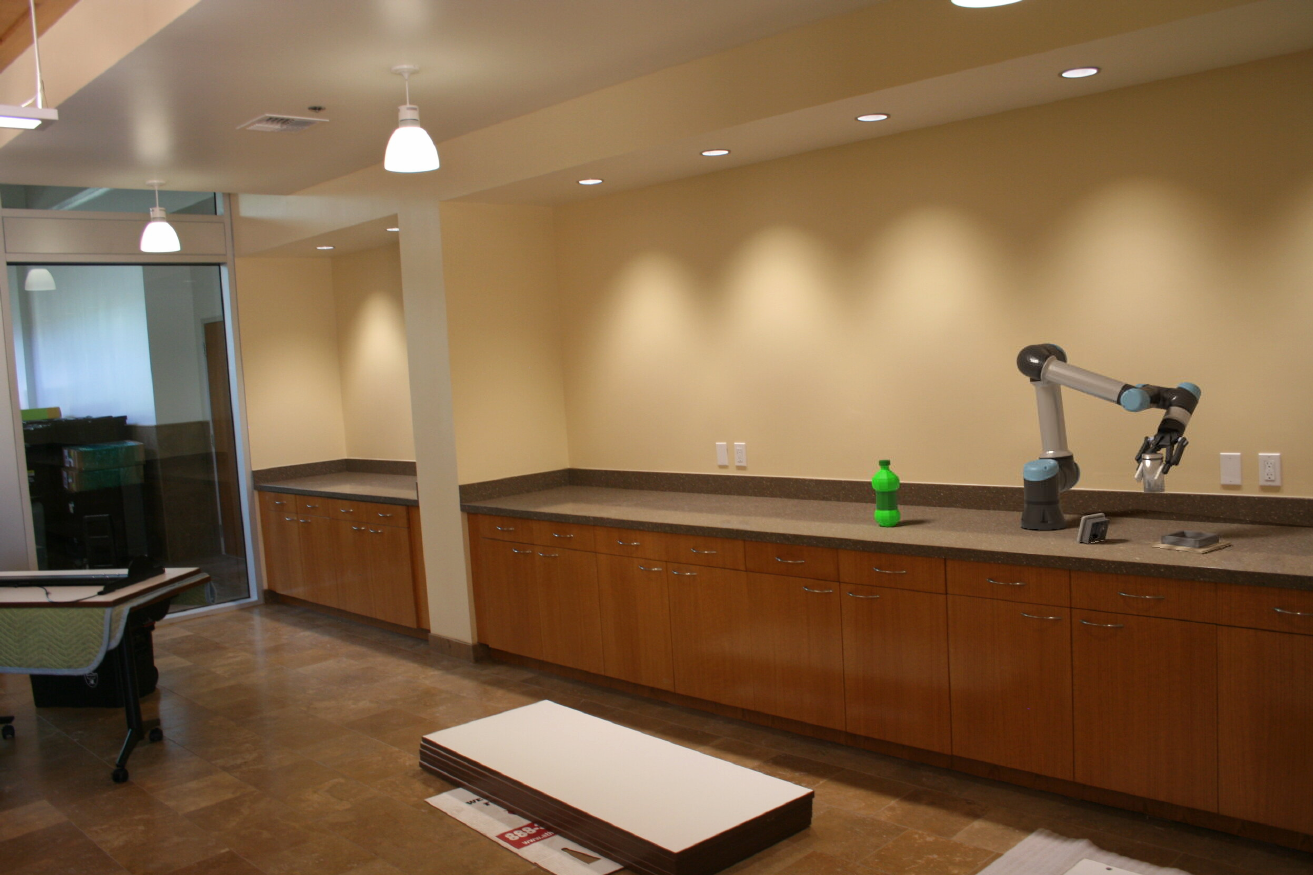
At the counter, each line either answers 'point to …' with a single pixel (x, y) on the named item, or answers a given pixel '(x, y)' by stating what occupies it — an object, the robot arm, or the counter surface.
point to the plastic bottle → (886, 495)
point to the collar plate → (1190, 541)
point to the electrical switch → (1093, 528)
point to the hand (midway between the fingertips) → (1147, 480)
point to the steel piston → (1152, 472)
